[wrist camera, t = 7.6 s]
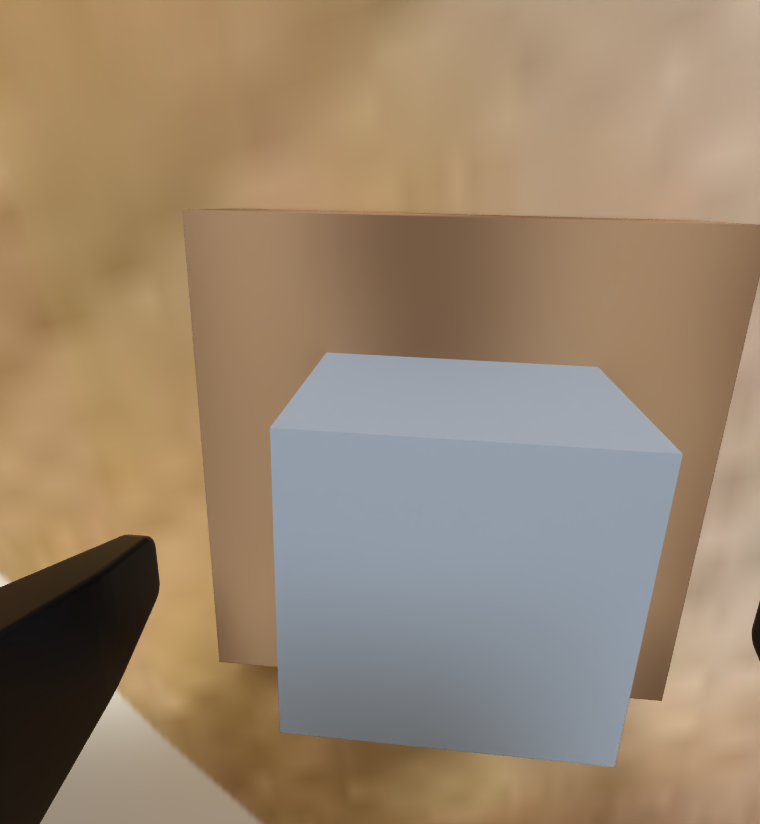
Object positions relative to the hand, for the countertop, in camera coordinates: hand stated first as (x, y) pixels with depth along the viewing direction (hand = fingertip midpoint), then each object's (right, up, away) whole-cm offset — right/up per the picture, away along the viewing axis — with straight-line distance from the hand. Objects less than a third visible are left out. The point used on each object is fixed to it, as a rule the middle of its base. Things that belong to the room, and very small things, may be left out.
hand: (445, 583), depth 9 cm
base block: (+1, +2, +6) cm, 6 cm away
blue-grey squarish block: (0, +1, +3) cm, 3 cm away
